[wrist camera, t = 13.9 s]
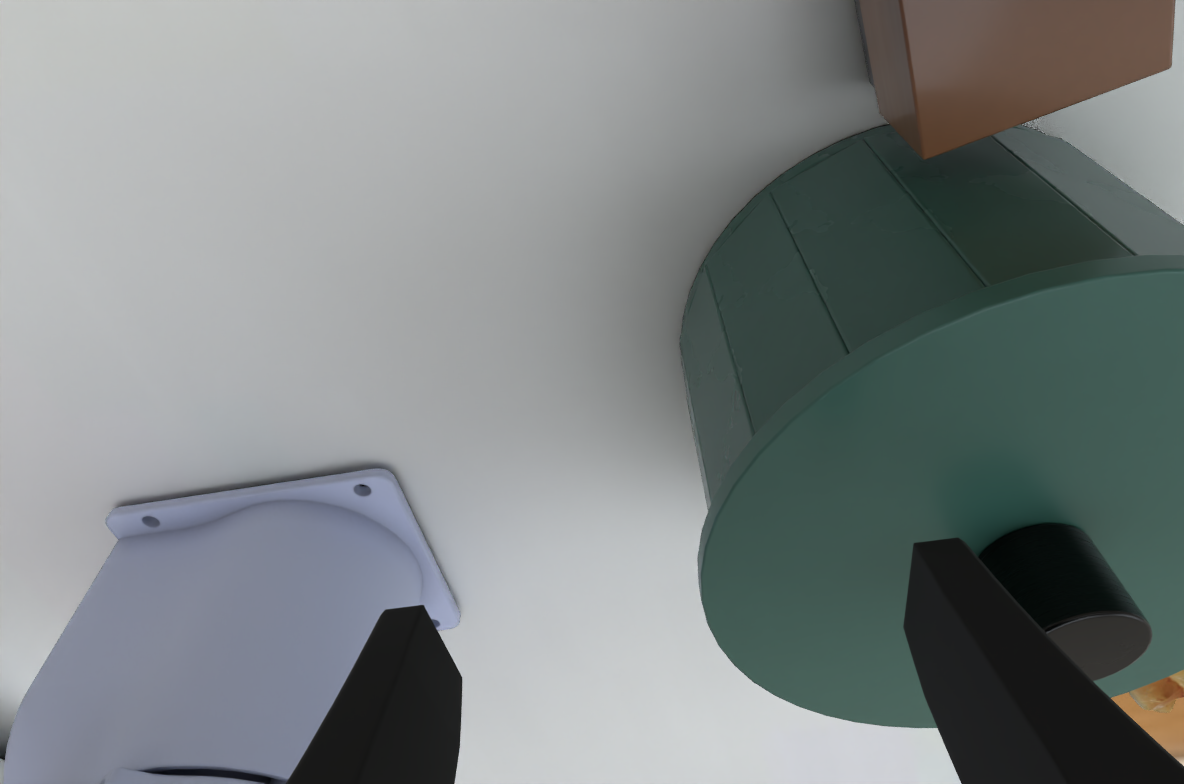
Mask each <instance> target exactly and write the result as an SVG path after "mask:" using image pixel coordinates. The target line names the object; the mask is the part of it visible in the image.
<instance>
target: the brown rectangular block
mask: <svg viewBox="0 0 1184 784" xmlns="http://www.w3.org/2000/svg"><path fill="white" fill-rule="evenodd" d="M855 4H856V9H857V15H858V20H859V26H860V31H861V37H862V42H863V48H864V53H865V59H866V64H867V69H868V75H869V80H870V83H871V84H872V85H873V86H874V87H875V91H876V97H877V102H878V108H879V113H880V114H881V115H882V116H883V117H884V119H885V120H886V121H887V122H888V123H889V124H890V125H891V126H892V127H893V128H894V129H895V130H896V131H897V132H898V133H899V134H900V136H901V137H902V138H903V139H904V140H905V141H906V142H907V143H908V144H909V145H910V146H911V147H912V148H913V149H914V150H915V151H916V153H917V154H918V155H919V156H920V157H921V158H922V159H923V160H927V159H929V158H932V157H935V156H937V155H940V154H943V153H945V152H948V151H951V150H953V149H956V148H959V147H961V146H964V145H967V144H969V143H972V142H975V141H977V140H980V139H983V138H985V137H988V136H991V135H993V134H996V133H999V132H1001V131H1004V130H1007V129H1009V128H1012V127H1015V126H1017V125H1020V124H1023V123H1026V122H1028V121H1031V120H1034V119H1036V118H1039V117H1042V116H1044V115H1047V114H1050V113H1052V112H1055V111H1058V110H1060V109H1063V108H1066V107H1068V106H1071V105H1074V104H1076V103H1079V102H1082V101H1084V100H1087V99H1090V98H1092V97H1095V96H1098V95H1100V94H1103V93H1106V92H1108V91H1111V90H1114V89H1116V88H1119V87H1122V86H1124V85H1127V84H1130V83H1132V82H1135V81H1138V80H1140V79H1143V78H1146V77H1148V76H1151V75H1154V74H1157V73H1159V72H1162V71H1165V70H1167V69H1169V68H1171V66H1172V49H1173V31H1174V13H1175V0H855Z"/></svg>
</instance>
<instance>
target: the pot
mask: <svg viewBox="0 0 1184 784" xmlns="http://www.w3.org/2000/svg"><path fill="white" fill-rule="evenodd" d="M1138 255H1184V225H1183V224H1181V223H1180V222H1178V221H1177V220H1176V219H1174V218H1173V217H1171V216H1170V215H1169V214H1167V213H1166V212H1164V211H1163V210H1162V209H1160V208H1159V207H1157V206H1156V205H1155V204H1153V203H1152V202H1150V201H1149V200H1148V199H1146V198H1145V197H1143V196H1142V195H1141V194H1139V193H1138V192H1136V191H1135V190H1134V189H1132V188H1131V187H1129V186H1128V185H1127V184H1125V183H1124V182H1122V181H1121V180H1120V179H1118V178H1117V177H1115V176H1114V175H1113V174H1111V173H1110V172H1108V171H1107V170H1106V169H1104V168H1103V167H1101V166H1100V165H1099V164H1097V163H1096V162H1094V161H1093V160H1092V159H1090V158H1089V157H1087V156H1086V155H1085V154H1083V153H1082V152H1080V151H1079V150H1078V149H1076V148H1075V147H1073V146H1072V145H1071V144H1069V143H1068V142H1065V141H1064V140H1062V139H1061V138H1057V137H1052V136H1048V135H1045V134H1043V133H1041V132H1039V131H1038V130H1035V129H1032V128H1029V127H1026V126H1022V125H1017V126H1015V127H1012V128H1009V129H1007V130H1004V131H1001V132H999V133H996V134H993V135H991V136H988V137H985V138H983V139H980V140H977V141H975V142H972V143H969V144H967V145H964V146H961V147H959V148H956V149H953V150H951V151H948V152H945V153H943V154H940V155H937V156H935V157H932V158H929V159H927V160H923V159H922V158H921V157H920V156H919V155H918V154H917V153H916V151H915V150H914V149H913V148H912V147H911V146H910V145H909V144H908V143H907V142H906V141H905V140H904V139H903V138H902V137H901V136H900V134H899V133H898V132H897V131H896V130H895V129H894V128H893V127H892V126H891V125H886V126H882V127H878V128H874V129H871V130H869V131H866V132H863V133H861V134H858V135H855V136H853V137H850V138H847V139H844V140H842V141H840V142H838V143H836V144H834V145H832V146H830V147H828V148H826V149H824V150H822V151H820V152H818V153H816V154H814V155H812V156H810V157H808V158H807V159H805V160H804V161H802V162H801V163H799V164H798V165H796V166H794V167H793V168H791V169H790V170H788V171H787V172H785V173H784V174H782V175H781V176H779V177H778V178H777V179H776V180H775V181H773V182H772V183H771V184H770V185H769V186H767V187H766V188H765V189H764V190H762V191H761V192H760V193H759V194H758V195H756V196H755V197H754V198H753V199H752V200H751V201H750V202H749V203H748V204H747V205H746V206H745V207H744V208H743V210H742V211H741V212H740V213H739V214H738V215H737V216H736V217H735V218H734V219H733V220H732V221H731V223H730V224H729V225H728V226H727V228H726V229H725V230H724V232H723V233H722V234H721V236H720V237H719V238H718V240H717V241H716V242H715V243H714V245H713V247H712V249H711V250H710V252H709V254H708V255H707V257H706V259H705V261H704V262H703V264H702V266H701V267H700V269H699V272H698V274H697V276H696V279H695V281H694V284H693V286H692V288H691V291H690V293H689V297H688V301H687V304H686V308H685V312H684V316H683V323H682V332H681V336H680V350H681V359H682V367H683V372H684V379H685V387H686V394H687V401H688V407H689V413H690V418H691V423H692V429H693V434H694V439H695V445H696V450H697V455H698V461H699V466H700V471H701V476H702V482H703V487H704V492H705V498H706V503H707V508H708V511H709V508H710V505H711V503H712V500H713V498H714V496H715V494H716V492H717V490H718V488H719V486H720V485H721V483H722V481H723V479H724V477H725V475H726V474H727V472H728V470H729V468H730V467H731V465H732V464H733V463H734V461H735V460H736V458H737V457H738V456H739V454H740V453H741V452H742V450H743V449H744V448H745V446H746V445H747V444H748V442H749V441H750V440H751V438H752V437H753V436H754V435H755V433H756V432H757V431H758V430H759V429H760V428H761V427H762V426H763V425H764V424H765V423H766V422H767V421H768V420H769V419H770V418H771V417H772V416H773V415H774V414H775V413H776V412H777V411H778V409H779V408H780V407H781V406H782V405H783V404H784V403H785V402H787V401H788V400H789V399H790V398H791V397H793V396H794V395H795V394H796V393H797V392H799V391H800V390H801V389H802V388H803V387H805V386H806V385H807V384H808V383H809V382H811V381H812V380H813V379H814V378H815V377H817V376H818V375H819V374H820V373H821V372H823V371H824V370H826V369H827V368H829V367H830V366H832V365H833V364H835V363H836V362H838V361H839V360H841V359H842V358H844V357H845V356H847V355H848V354H850V353H851V352H853V351H854V350H856V349H857V348H858V347H860V346H861V345H863V344H864V343H866V342H868V341H869V340H871V339H873V338H875V337H877V336H879V335H881V334H882V333H884V332H886V331H888V330H890V329H892V328H894V327H895V326H897V325H899V324H901V323H903V322H905V321H907V320H908V319H910V318H912V317H914V316H916V315H918V314H920V313H923V312H925V311H927V310H930V309H932V308H935V307H937V306H939V305H942V304H944V303H946V302H949V301H951V300H953V299H956V298H958V297H960V296H963V295H965V294H968V293H970V292H973V291H976V290H979V289H982V288H985V287H988V286H992V285H995V284H998V283H1001V282H1004V281H1007V280H1010V279H1014V278H1017V277H1020V276H1023V275H1026V274H1030V273H1034V272H1039V271H1043V270H1048V269H1053V268H1057V267H1062V266H1067V265H1071V264H1076V263H1081V262H1085V261H1092V260H1101V259H1111V258H1120V257H1129V256H1138Z"/></svg>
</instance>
